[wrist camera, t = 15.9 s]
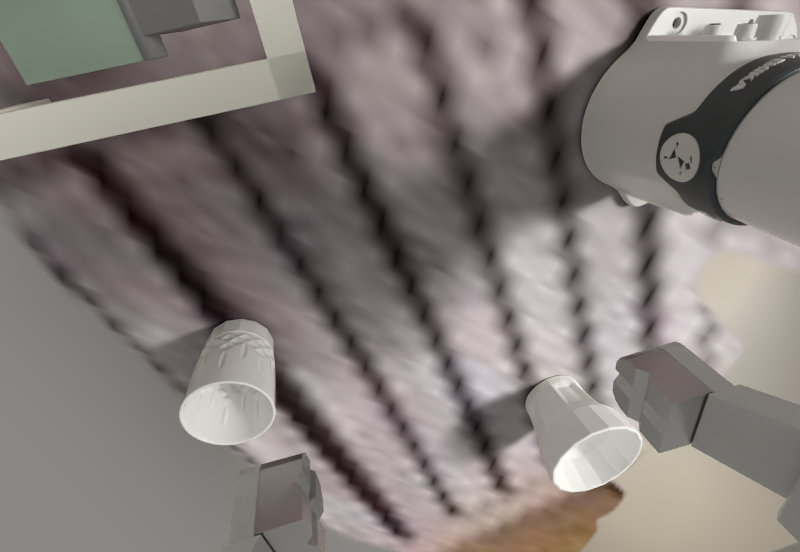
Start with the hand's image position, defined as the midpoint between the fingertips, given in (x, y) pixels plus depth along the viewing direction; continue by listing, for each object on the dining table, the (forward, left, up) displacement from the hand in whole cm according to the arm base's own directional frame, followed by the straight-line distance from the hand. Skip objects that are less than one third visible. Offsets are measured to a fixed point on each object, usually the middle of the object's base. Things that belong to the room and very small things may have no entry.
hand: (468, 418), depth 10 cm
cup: (-21, +42, -31) cm, 56 cm away
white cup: (+16, +18, -31) cm, 39 cm away
